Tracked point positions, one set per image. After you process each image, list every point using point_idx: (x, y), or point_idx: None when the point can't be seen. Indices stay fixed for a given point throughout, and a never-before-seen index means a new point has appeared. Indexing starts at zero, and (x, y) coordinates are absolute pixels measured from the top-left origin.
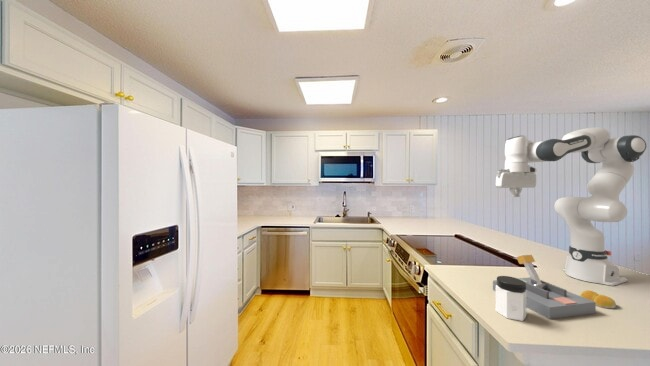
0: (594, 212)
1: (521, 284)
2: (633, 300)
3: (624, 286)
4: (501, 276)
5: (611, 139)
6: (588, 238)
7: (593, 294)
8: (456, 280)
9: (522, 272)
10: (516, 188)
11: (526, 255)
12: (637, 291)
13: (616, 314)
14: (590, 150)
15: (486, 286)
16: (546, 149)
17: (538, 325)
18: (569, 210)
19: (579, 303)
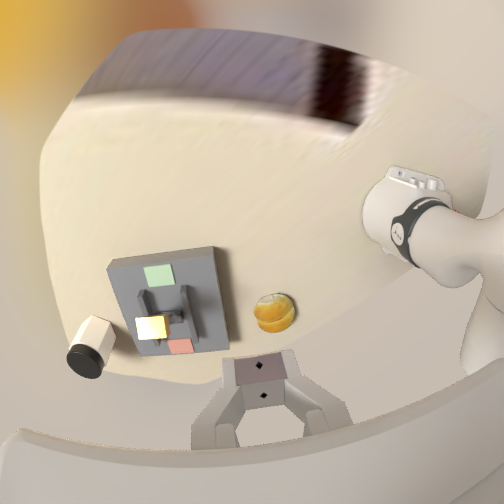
0: (471, 346)
1: (91, 377)
2: (345, 302)
3: None
4: (75, 354)
5: None
6: (432, 276)
7: (268, 320)
8: (62, 211)
9: (273, 161)
10: (309, 434)
11: (150, 338)
12: (395, 273)
13: (258, 339)
14: None
15: (108, 243)
16: None
17: (119, 351)
18: (498, 275)
19: (197, 351)
